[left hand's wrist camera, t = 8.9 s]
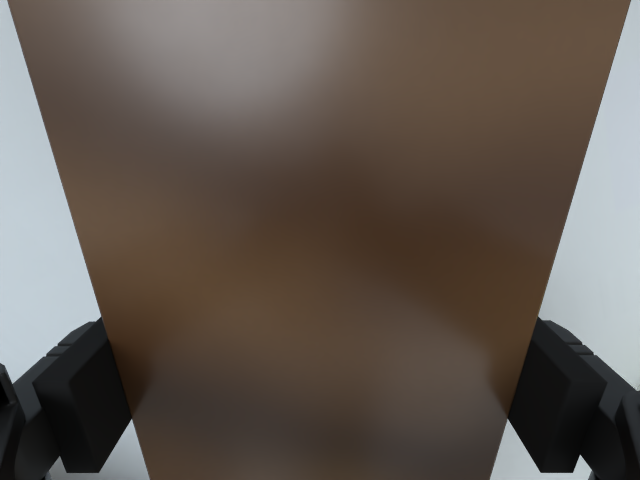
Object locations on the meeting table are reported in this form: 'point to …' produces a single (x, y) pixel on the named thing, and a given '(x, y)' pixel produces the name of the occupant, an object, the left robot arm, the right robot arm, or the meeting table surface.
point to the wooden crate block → (319, 216)
